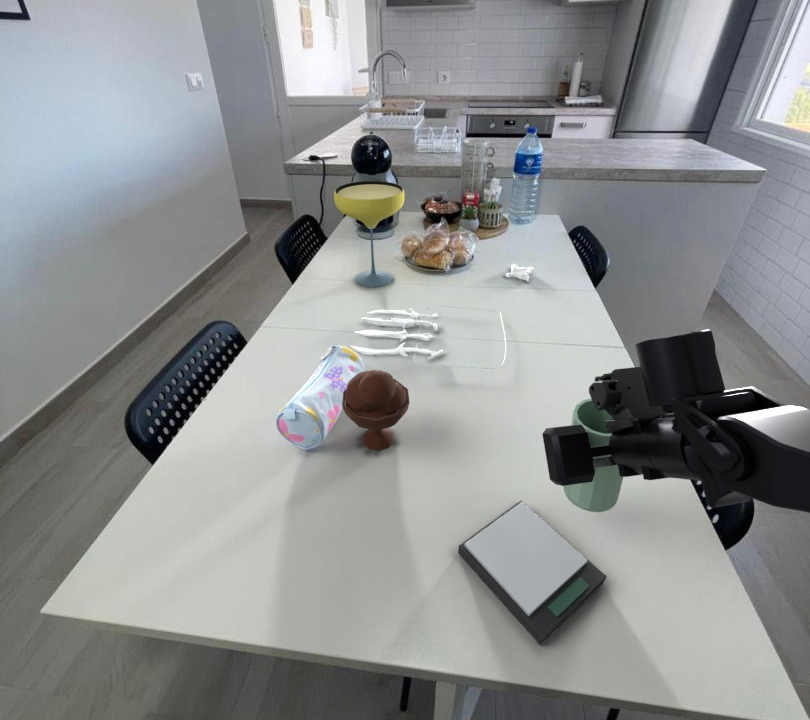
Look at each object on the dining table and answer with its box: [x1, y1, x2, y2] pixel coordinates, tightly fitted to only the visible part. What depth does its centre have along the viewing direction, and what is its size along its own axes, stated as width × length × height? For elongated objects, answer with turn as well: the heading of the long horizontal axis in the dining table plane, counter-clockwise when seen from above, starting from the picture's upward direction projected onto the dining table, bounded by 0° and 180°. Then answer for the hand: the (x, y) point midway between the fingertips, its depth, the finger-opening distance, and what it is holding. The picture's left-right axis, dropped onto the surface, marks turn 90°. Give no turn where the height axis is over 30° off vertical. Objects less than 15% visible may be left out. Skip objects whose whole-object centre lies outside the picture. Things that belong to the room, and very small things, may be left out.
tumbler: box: [562, 398, 624, 513], centre depth 57 cm, size 7×7×14 cm
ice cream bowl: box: [342, 369, 410, 452], centre depth 73 cm, size 11×11×15 cm
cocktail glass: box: [333, 180, 405, 288], centre depth 122 cm, size 18×18×25 cm
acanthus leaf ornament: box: [505, 263, 534, 282], centre depth 130 cm, size 8×7×2 cm
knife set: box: [350, 305, 507, 370], centre depth 104 cm, size 26×35×1 cm
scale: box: [457, 500, 608, 646], centre depth 57 cm, size 14×12×2 cm
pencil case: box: [275, 344, 366, 451], centre depth 80 cm, size 21×9×10 cm, turn 164°
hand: (590, 446), depth 58 cm, fingers closed on tumbler, 7 cm apart
